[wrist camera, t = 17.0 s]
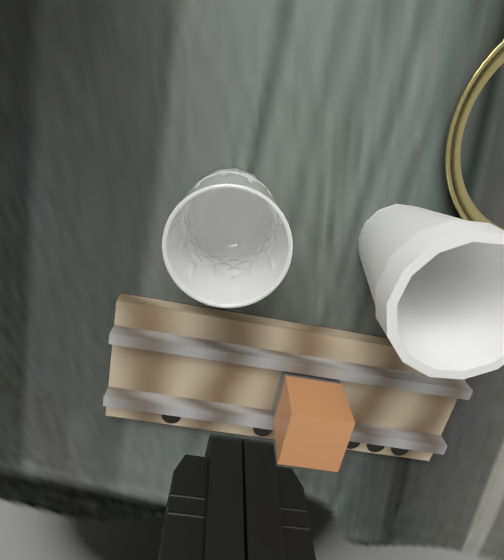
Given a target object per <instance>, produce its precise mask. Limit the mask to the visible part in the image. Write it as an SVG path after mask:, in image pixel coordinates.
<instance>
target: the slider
mask: <svg viewBox="0 0 504 560" xmlns="http://www.w3.org/2000/svg"><path fill="white" fill-rule="evenodd" d="M273 417H274V421H273V424H274V434H275V444H276V454H277V464H281V465H289V466H296V467H304V468H311V469H318V470H326V471H333V472H338V471H339V468H340V465H341V462H342V459H343V457H344V454H345V451H346V448H347V445H348V443H349V440H350V437H351V434H352V431H353V428H354V426H355V421H354V418H353V415H352V412H351V409H350V406H349V404H348V401H347V398H346V395H345V392H344V389H343V386H342V384H340V381H339V380H336V379H330V378H324V377H317V376H311V375H304V374H298V373H292V372H285V371H282V374H281V378H280V382H279V385H278V389H277V393H276V397H275V401H274V404H273Z"/></svg>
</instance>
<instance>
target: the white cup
mask: <svg viewBox="0 0 504 560" xmlns="http://www.w3.org/2000/svg"><path fill="white" fill-rule="evenodd" d="M162 252H163V258H164V262H165V265H166V268H167V270H168V272H169V274H170V276H171V278H172V279H173V280H174V282H175V283H176V284H177V286H178V287H179V288H180V289H181V290H182V291H184V292H185V293H186V294H187V295H189V296H190V297H191V298H193V299H195V300H197V301H199V302H201V303H203V304H206V305H209V306H213V307H219V308H238V307H243V306H247V305H250V304H253V303H255V302H258V301H260V300H261V299H263V298H265V297H266V296H268V295H269V294H270V293H271V292H273V291H274V290H275V289H276V288H277V287H278V285H279V284H280V283H281V282H282V280H283V279H284V277H285V275H286V273H287V271H288V269H289V266H290V263H291V259H292V253H293V240H292V234H291V230H290V227H289V224H288V222H287V220H286V218H285V216H284V215H283V213H282V211H281V209H280V207H279V205H278V204H277V202H276V200H275V199H274V197H273V196H272V194H271V193H270V191H269V190H268V189H267V187H266V186H265V185H264V184H262V183H261V182H260V180H259V179H258V178H257V177H256V176H255V175H253V174H250V173H248V172H245V171H243V170H240V169H238V168H231V169H219V170H216V171H214V172H212V173H211V174H209V175H207V176H206V177H204V178H202V179H201V180H200V181H199V182H198V183H197V184H195V185H194V186H193V188H191V189H190V190H189V192H188V193H187V194H186V195H185V196H184V198H183V199H182V200H181V202H180V203H179V204H178V205H177V206H176V208H175V209H174V210H173V212H172V213H171V215H170V217H169V218H168V220H167V223H166V225H165V228H164V232H163V238H162Z"/></svg>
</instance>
